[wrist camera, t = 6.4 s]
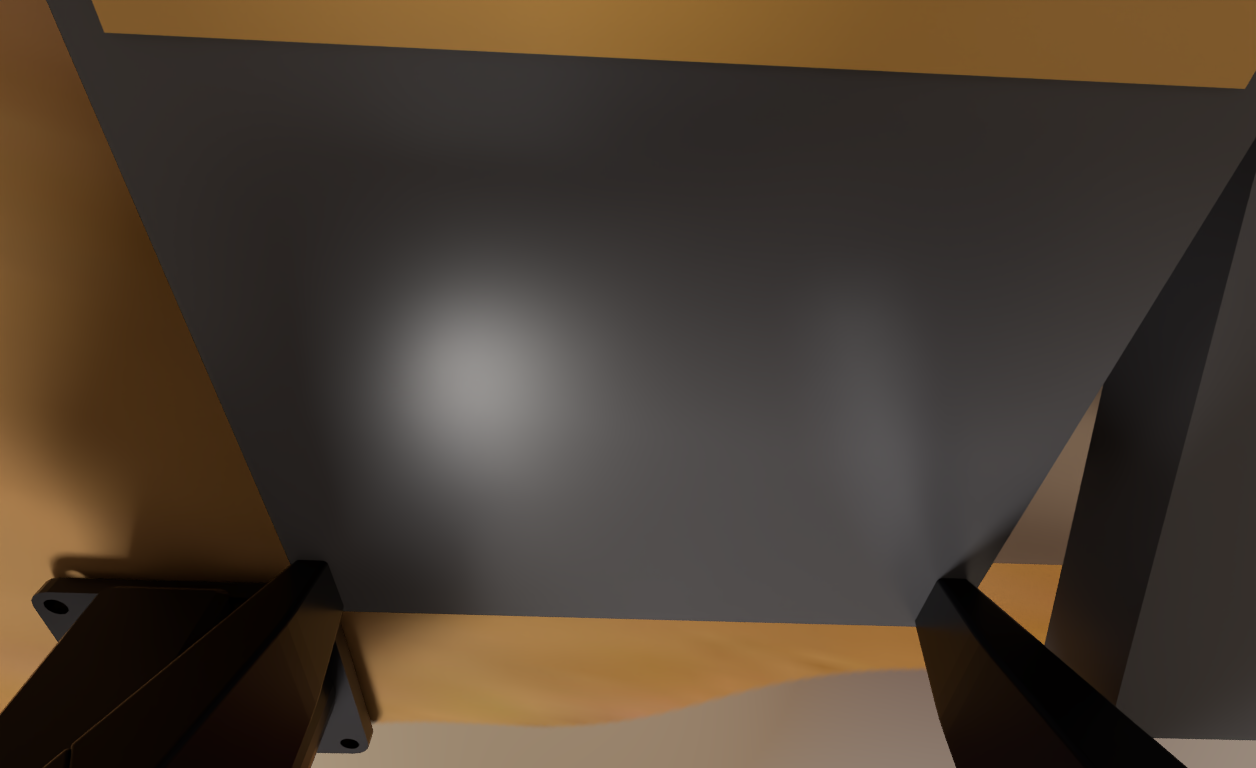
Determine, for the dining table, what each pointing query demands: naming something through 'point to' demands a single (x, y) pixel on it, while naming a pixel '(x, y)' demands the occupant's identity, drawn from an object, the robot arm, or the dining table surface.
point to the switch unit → (1052, 503)
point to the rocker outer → (1175, 500)
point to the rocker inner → (663, 275)
